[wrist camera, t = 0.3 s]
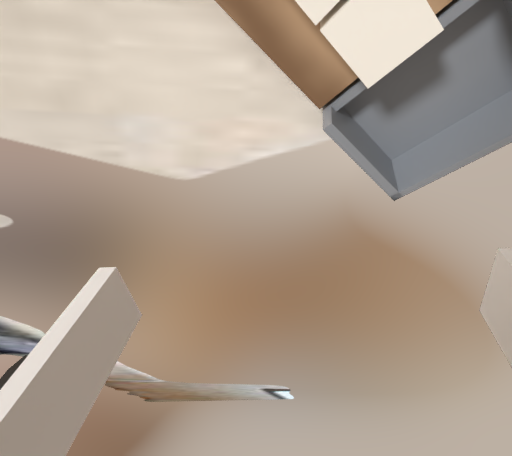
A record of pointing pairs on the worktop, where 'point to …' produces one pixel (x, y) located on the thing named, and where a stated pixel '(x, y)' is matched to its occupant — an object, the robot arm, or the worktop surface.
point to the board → (297, 44)
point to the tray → (433, 102)
